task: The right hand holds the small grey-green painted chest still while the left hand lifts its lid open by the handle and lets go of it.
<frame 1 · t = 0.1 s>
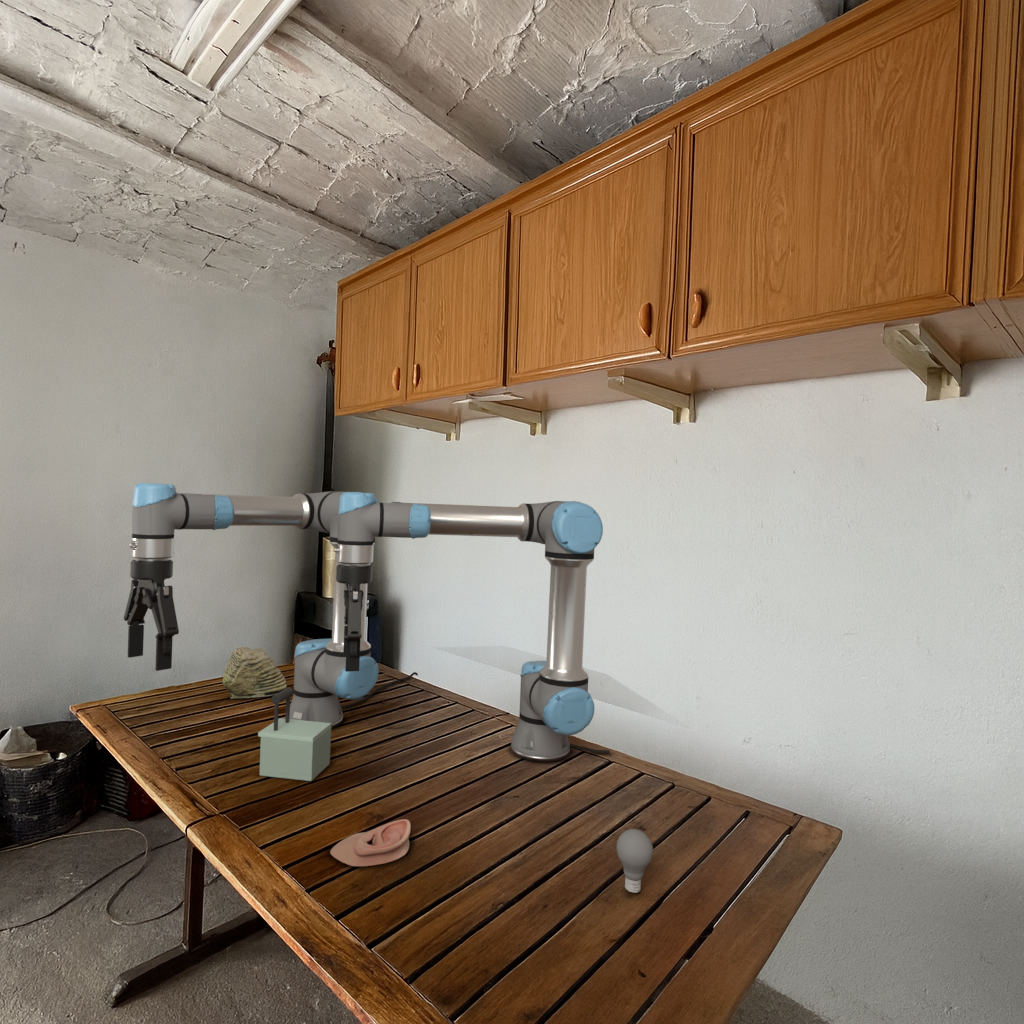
left hand: (148, 662, 129), 28 cm above the table, tool pointing down, fingers open, 13 cm apart
right hand: (350, 662, 136), 28 cm above the table, tool pointing down, fingers open, 13 cm apart
anatomical model: (370, 850, 114), on the table
chest: (295, 769, 146), on the table
fossil: (254, 694, 198), on the table
light bulb: (632, 891, 106), on the table
lid: (296, 712, 146), point 13 cm above the table, hinge at 0.0°
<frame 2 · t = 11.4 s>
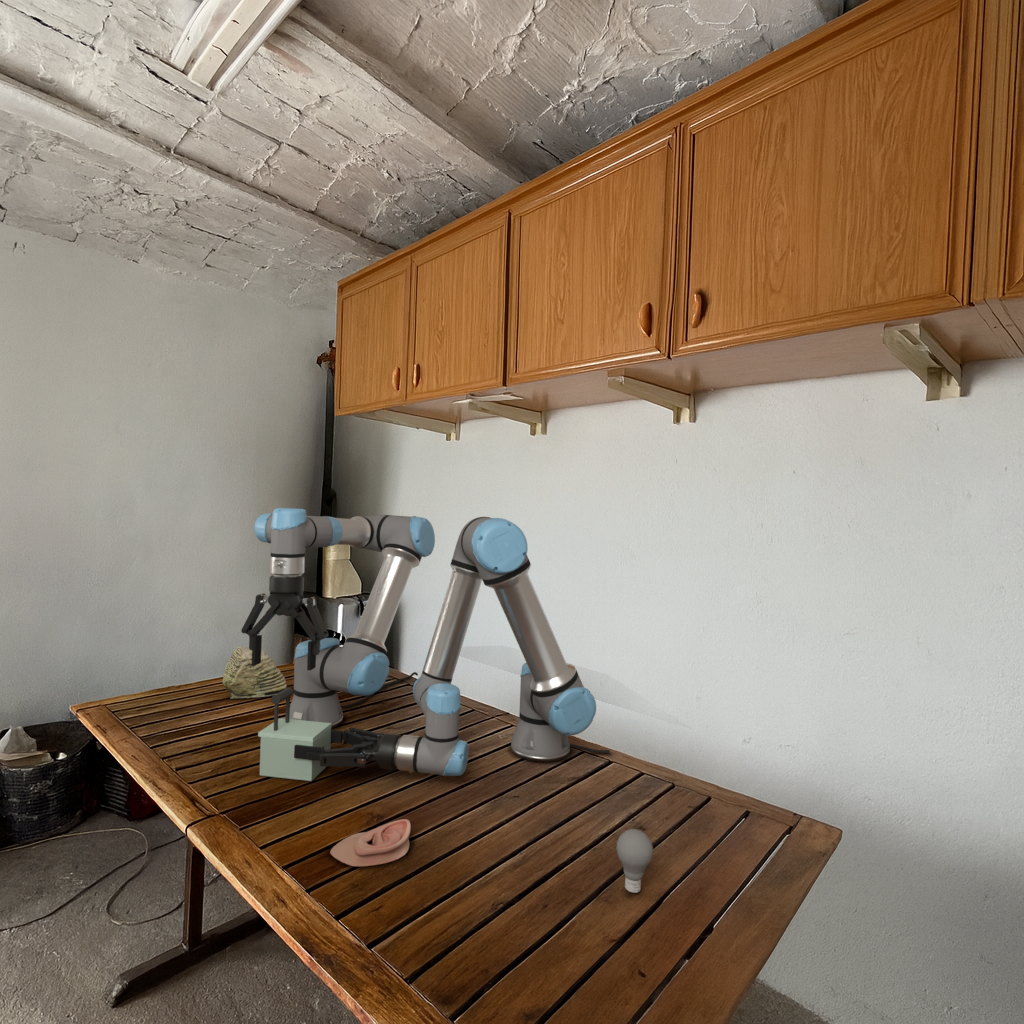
left hand: (283, 666, 146), 24 cm above the table, tool pointing down, fingers open, 13 cm apart
right hand: (305, 742, 146), 6 cm above the table, tool horizontal, fingers closed on chest, 10 cm apart
chest: (295, 769, 146), on the table, touching right hand
everything else where it was.
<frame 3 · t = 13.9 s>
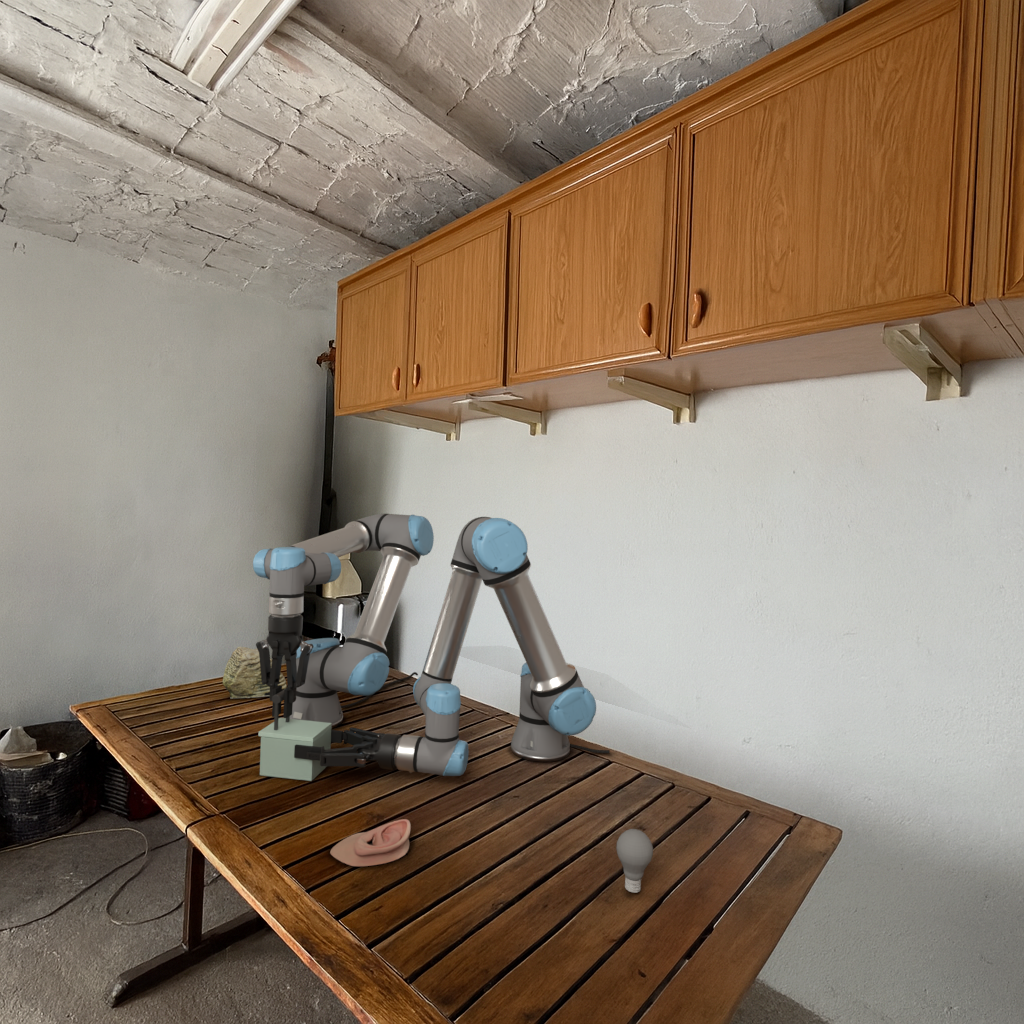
left hand: (282, 715, 147), 12 cm above the table, tool pointing down, fingers closed on lid, 2 cm apart
right hand: (306, 742, 146), 7 cm above the table, tool horizontal, fingers closed on chest, 10 cm apart
chest: (295, 769, 146), on the table, touching right hand
lid: (296, 711, 146), point 13 cm above the table, hinge at 0.4°, touching left hand
everything else where it was.
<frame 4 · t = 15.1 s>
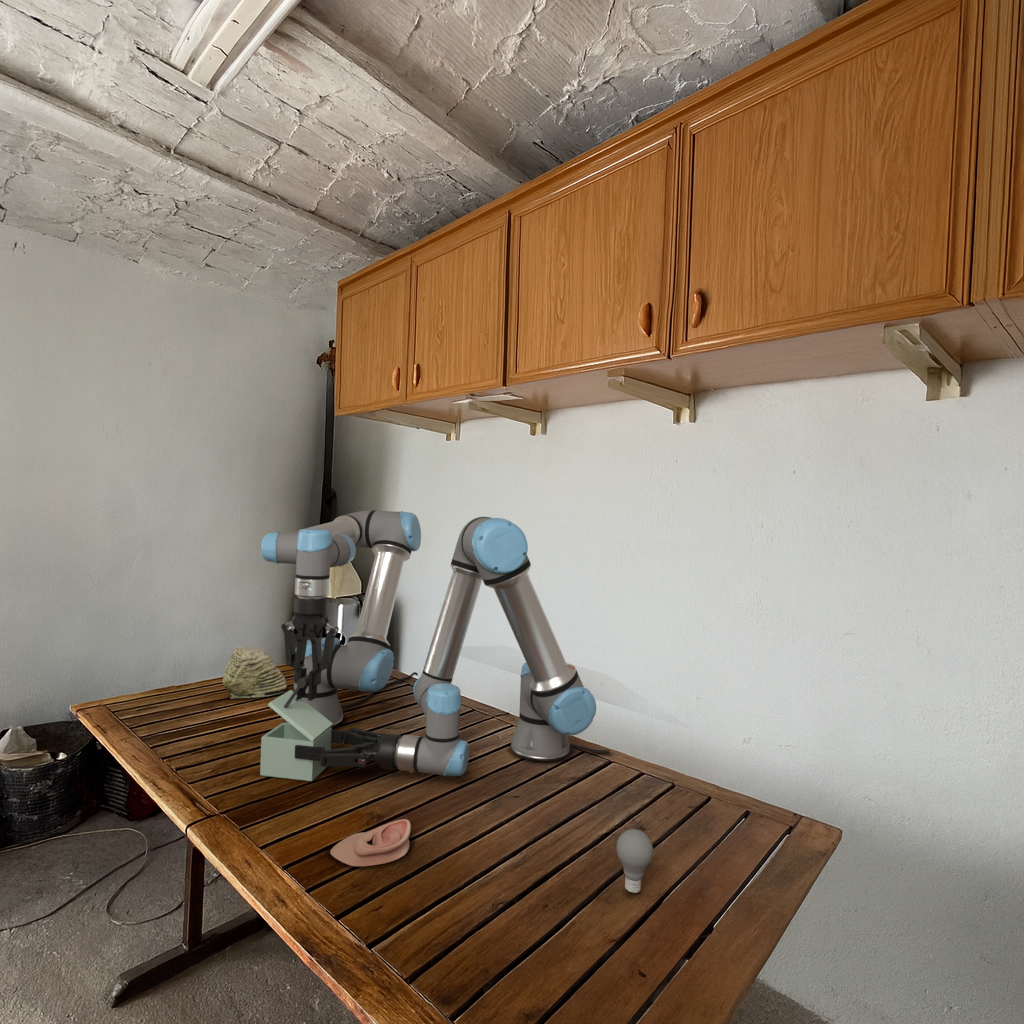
left hand: (306, 698, 146), 17 cm above the table, tool pointing down, fingers closed on lid, 2 cm apart
right hand: (306, 742, 146), 6 cm above the table, tool horizontal, fingers closed on chest, 10 cm apart
chest: (296, 769, 146), on the table, touching right hand
lid: (310, 700, 146), point 16 cm above the table, hinge at 33.3°, touching left hand
everything else where it was.
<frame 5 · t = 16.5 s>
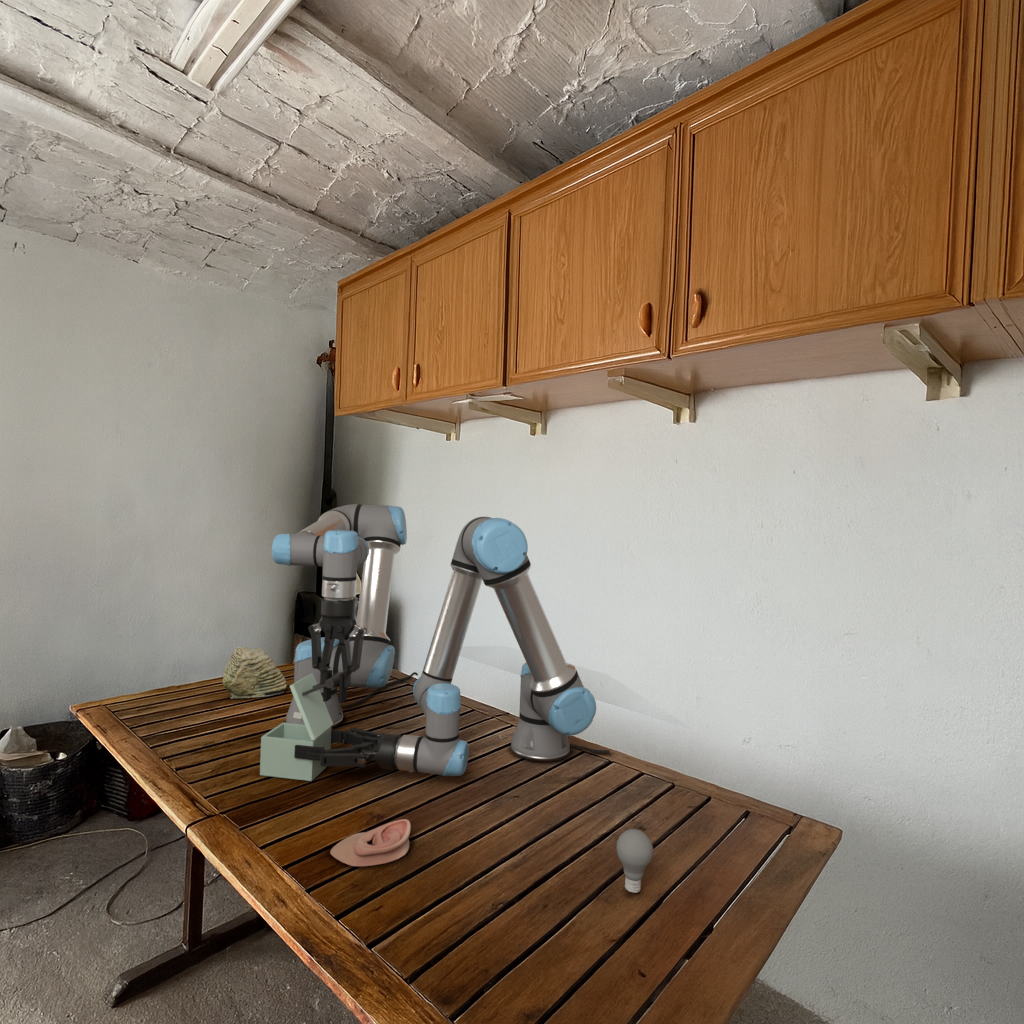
left hand: (334, 700, 145), 17 cm above the table, tool pointing down, fingers open, 3 cm apart
right hand: (306, 742, 146), 6 cm above the table, tool horizontal, fingers closed on chest, 10 cm apart
chest: (295, 769, 146), on the table, touching right hand
lid: (327, 699, 145), point 17 cm above the table, hinge at 64.1°
everything else where it was.
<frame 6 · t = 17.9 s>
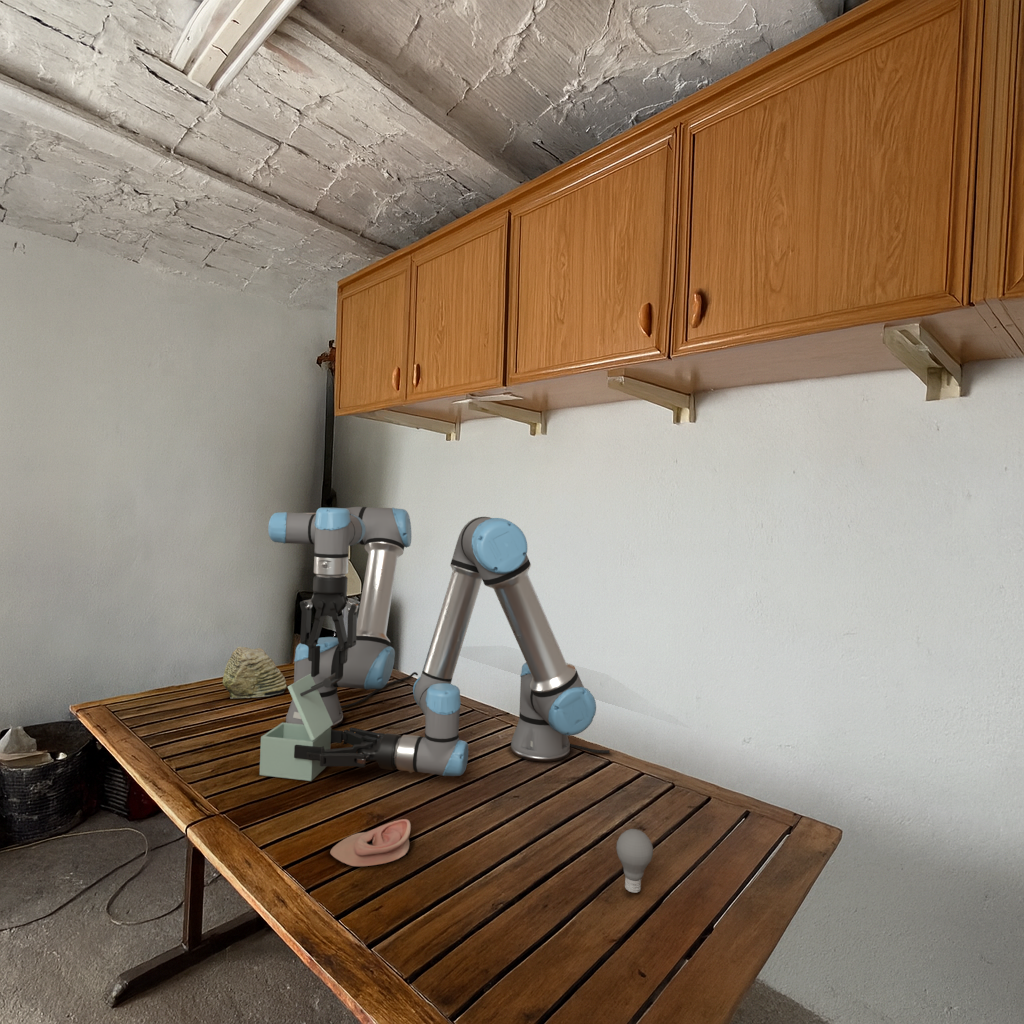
left hand: (327, 676, 145), 22 cm above the table, tool pointing down, fingers open, 5 cm apart
right hand: (305, 742, 146), 6 cm above the table, tool horizontal, fingers closed on chest, 10 cm apart
chest: (295, 769, 146), on the table, touching right hand
lid: (326, 699, 145), point 17 cm above the table, hinge at 62.0°
everything else where it was.
when the right hand's fingers open (6 cm above the table, at t = 20.9 s): chest stays where it is, on the table.
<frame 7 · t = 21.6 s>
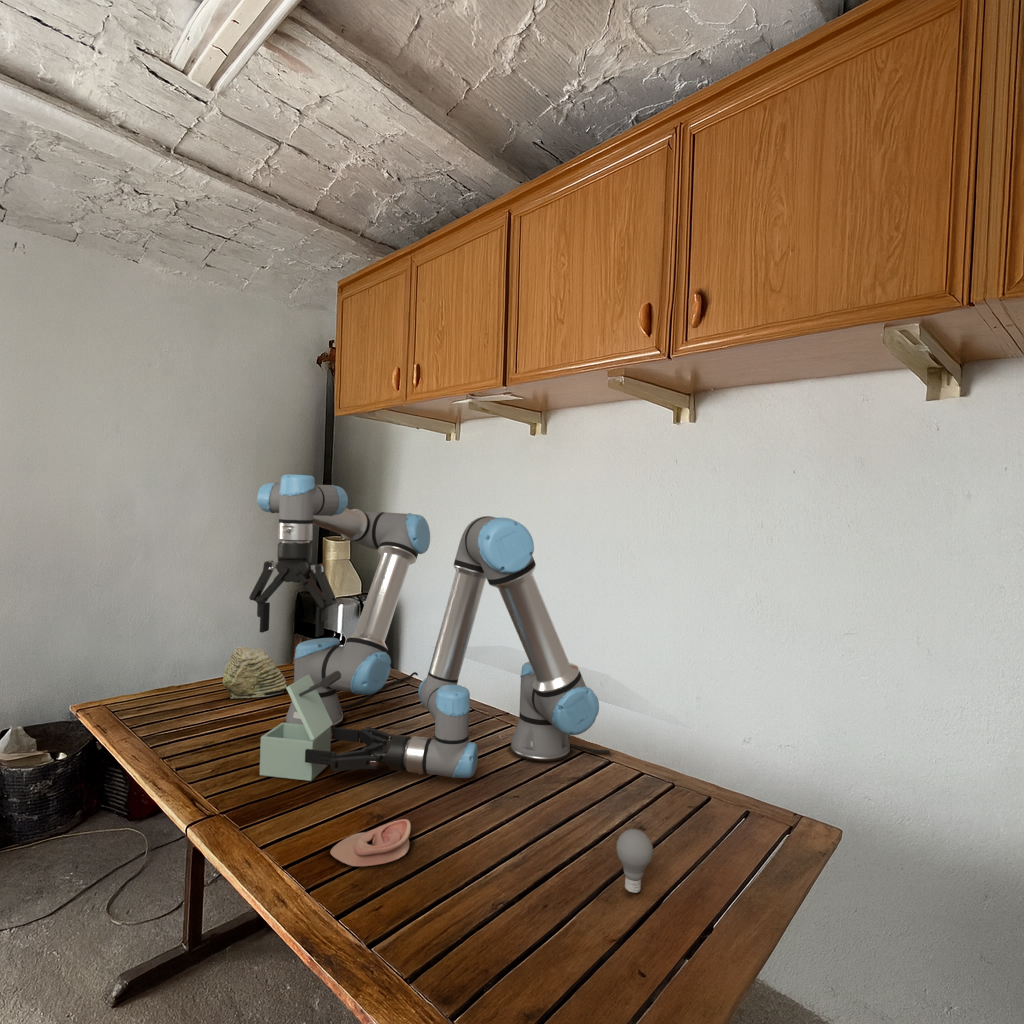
left hand: (291, 633, 146), 31 cm above the table, tool pointing down, fingers open, 13 cm apart
right hand: (319, 743, 146), 6 cm above the table, tool horizontal, fingers open, 13 cm apart
chest: (295, 769, 146), on the table
lid: (325, 699, 145), point 17 cm above the table, hinge at 60.6°
everything else where it was.
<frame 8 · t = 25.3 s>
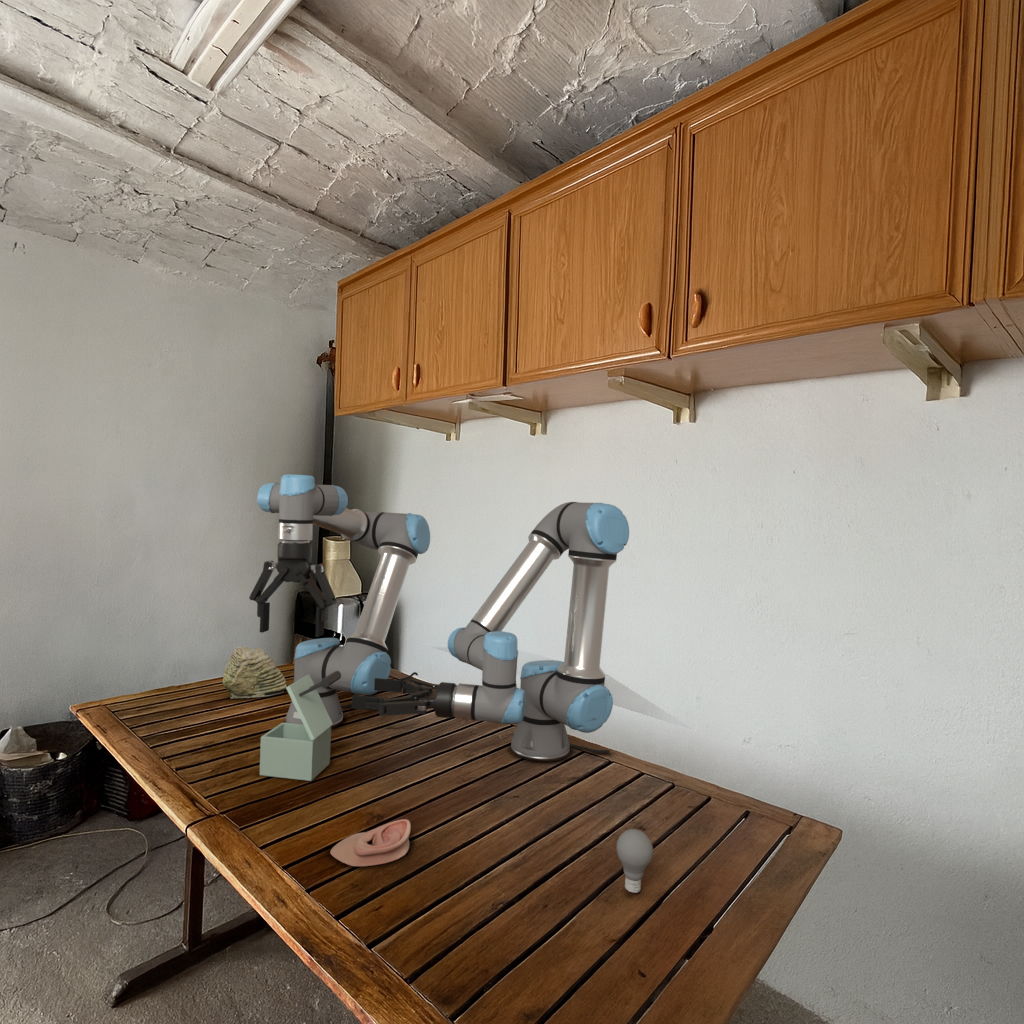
left hand: (291, 633, 146), 31 cm above the table, tool pointing down, fingers open, 13 cm apart
right hand: (364, 692, 144), 19 cm above the table, tool horizontal, fingers open, 13 cm apart
nothing on the table moved.
at the end: lid at +61° (first picture: +0°); the left hand is holding nothing; the right hand is holding nothing; chest tilted 0°; chest never tilted more than 1° during the clip; chest moved 0.1 cm from its start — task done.
